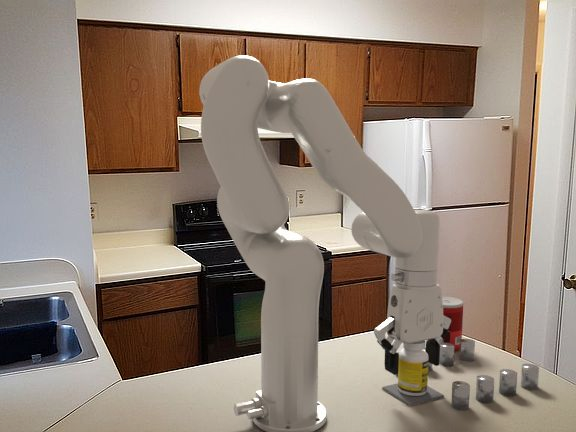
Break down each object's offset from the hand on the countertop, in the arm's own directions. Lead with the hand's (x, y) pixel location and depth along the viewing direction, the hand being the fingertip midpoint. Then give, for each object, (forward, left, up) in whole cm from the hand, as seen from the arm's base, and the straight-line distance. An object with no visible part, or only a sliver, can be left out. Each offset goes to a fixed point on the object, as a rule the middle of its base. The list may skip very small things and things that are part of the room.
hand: (412, 367), depth 100 cm
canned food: (+23, +16, -5) cm, 29 cm away
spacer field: (+13, 0, -5) cm, 14 cm away
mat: (0, 0, -5) cm, 5 cm away
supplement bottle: (0, 0, -5) cm, 5 cm away
